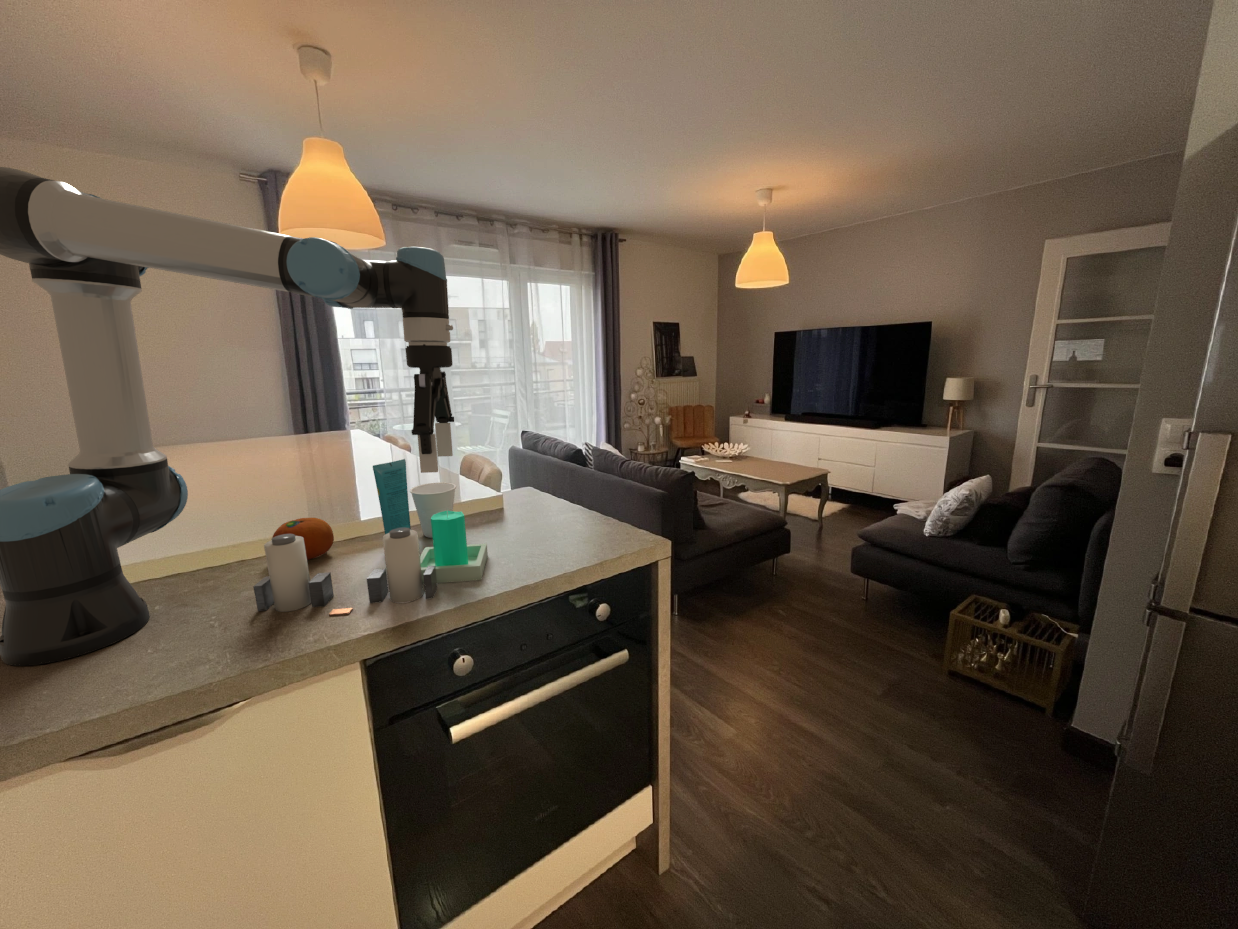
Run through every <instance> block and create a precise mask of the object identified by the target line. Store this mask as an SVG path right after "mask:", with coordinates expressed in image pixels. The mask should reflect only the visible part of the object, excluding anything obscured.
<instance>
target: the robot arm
mask: <svg viewBox="0 0 1238 929" xmlns="http://www.w3.org/2000/svg"><path fill="white" fill-rule="evenodd" d="M0 255H1V256H3V257H6V258H8V259H12V260H14V261H18V262H22V263H24V264H25V263H26V264H28V265H29V266H28V267H29V270H30V275H31V281H32V282H33V283H34V284H36V285H37V286H38V287H40V288H41V289H43V290H44V291H46V292H47V293H48V294H49V296H50V300H51V304H52V305H51V306H52V311H53V315H54V316H53V317H54V321H55V325H56V326H55V327H56V332H57V336H58V342H59V348H60V354H61V358H62V363H63V368H64V369H63V370H64V374H65V379H66V386H67V389H68V391H67V392H68V394H69V395H68V396H69V400H70V406H71V411H72V418H73V421H74V426H75V433H76V438H77V444H78V449H79V452H78V454H77V455H76V456H75V457H73V459H71V460H70V461H69V462H68V463H67V466H68V470H69V474H68V473H67V474H59V475H52V476H44V477H40V478H38V479H35V480H27V481H23V482H19V483H15V484H12V485H10V486H9V485H8V486H5V487H4V488H1V489H0V589H1V592H2V595H3V598H4V602H5V607H4V612H3V617H2V622H1V623H2V624H1V635H0V658H1V660H2V662H3V664H6V665H10V666H18V667H19V666H21V667H22V666H36V665H43V664H49V663H55V662H59V661H63V660H67V659H71V658H74V657H78V656H83V655H85V654H89V653H91V652H95V651H97V650H100V649H103V648H106V647H107V646H110V645H113V644H114V643H116V642H119V641H121V640H124V639H126V638H127V637H129V636H131V635H133V634H134V633H136V632H137V631H138V630H141V629H142V628H143V627H144V626H145V625H146V624H147V623H148V622H149V620H150V616H151V615H150V612H149V607H148V604H147V603H146V601H145V599H143V597H140V595H139V594H138V592H137V591H136V589H135V588H134V587H133V586H132V584H131V582H129V580H128V579H127V577H126V576H125V574H124V572H123V569H122V564H121V560H120V556H119V552H118V549H119V548H121V547H123V546H124V545H127V544H129V543H131V542H133V541H136V540H138V539H140V538H141V537H144V536H146V535H148V534H152V533H154V532H157V531H159V530H161V529H163V528H164V527H166V526H167V525H168V524H169V523H171V522H173V521H174V520H175V519H176V518H178V516H180V515H181V513H183V511H184V509H185V507H186V505H187V502H188V496H189V493H188V486H187V483H186V480H185V479H184V477H183V476H182V475H181V474H180V473H177V472H176V469H175V468H173V467H171V465H169V463H168V456H167V454H166V453H164V452H162V451H160V450H158V449H157V448H156V447H155V446H154V444H153V437H152V431H151V430H152V429H151V425H150V418H149V412H148V405H147V399H146V391H145V385H144V380H143V372H142V366H141V360H140V353H139V348H138V347H139V346H138V341H137V334H136V329H135V328H136V327H135V321H134V315H133V308H132V303H131V302H132V300H133V299H134V298H136V297H137V296H138V295H139V294H140V293H141V292H142V282H141V278H140V277H142V276H143V275H145V274H146V271H147V269H154V270H160V271H165V272H172V273H176V274H177V273H178V274H183V275H189V276H194V277H201V278H207V279H210V280H211V279H212V280H218V281H223V282H229V283H234V284H241V285H246V286H251V287H252V286H253V287H256V288H257V287H258V288H263V289H270V290H275V291H281V292H287V293H293V294H296V295H302V296H307V297H313V298H319V299H321V300H323V302H324V303H325V304H326V305H327V306H329V307H332V308H343V309H349V310H350V309H351V310H352V309H358V308H359V309H401V311H402V314H401V315H402V328H403V339H404V342H405V343H408V345H407V346H406V347H405V358H406V365H407V367H408V368H412V369H413V368H414V369H415V368H416V369H419V373H415V374H414V375H413V380H414V382H413V383H414V396H413V397H414V400H413V420H412V421H413V422H412V423H413V425H412V429H411V435H412V436H417V444H418V457H419V465H420V466H419V468H420V473H423V474H424V473H427V474H428V473H438V472H439V463H438V457H453V456H454V454H453V453H454V452H453V441H452V439H453V438H452V428H451V423H454V422H455V416H453V413H452V408H451V403H450V397H449V391H448V386H447V374H446V371H445V370H444V371H442V370H441V368H443V369H444V368H451V367H452V366H453V354H452V353H453V352H452V347H451V345H448V343H450V342H451V332H450V331H454V326H453V324H450V315H449V312H450V311H449V297H448V296H449V294H448V278H447V273H446V265H445V258H444V255H443V254H442V253H441V252H440V251H439V250H437V249H433V248H429V247H422V246H408V247H407V246H403V247H400V248H398V250H397V251H396V257H395V260H387V261H386V260H371V259H370V260H368V259H363V258H361V257H359V256H357V255H355V254H354V253H352V252H351V251H349V250H347V249H346V248H345V247H344V246H341V245H340V244H338V243H337V242H334V241H332V240H328V239H325V238H320V237H316V236H315V237H313V236H311V237H310V236H309V237H304V238H302V237H296V236H295V237H294V236H291V235H287V234H284V233H283V234H282V233H277V232H272V231H269V230H268V231H267V230H263V229H258V228H252V227H248V226H247V227H246V226H243V225H237V224H232V223H227V222H222V221H218V220H211V219H207V218H202V217H196V216H192V215H187V214H182V213H177V212H171V211H167V210H161V209H156V208H152V207H146V206H141V205H136V204H131V203H126V202H120V201H116V200H112V199H105V198H103V197H100V196H97V195H95V194H92V193H86V192H83V191H81V190H78V189H77V188H75V187H73V186H72V185H70V184H68V183H67V182H64V181H59V180H54V179H50V178H45V177H41V176H39V175H36V174H33V173H32V172H31V173H30V172H28V171H24V170H21V169H16V168H11V167H5V166H4V167H3V166H0ZM435 421H436V422H435ZM434 429H435V430H434ZM434 432H435V433H434Z"/></svg>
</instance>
